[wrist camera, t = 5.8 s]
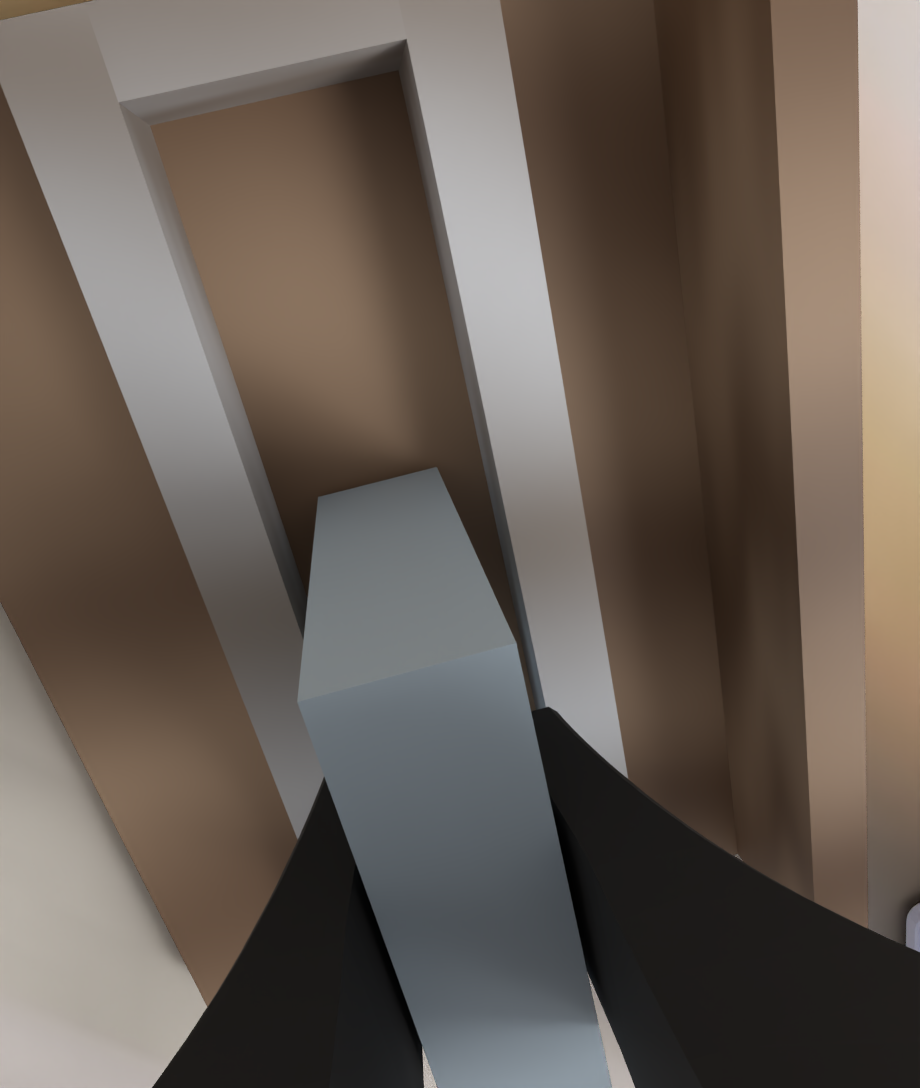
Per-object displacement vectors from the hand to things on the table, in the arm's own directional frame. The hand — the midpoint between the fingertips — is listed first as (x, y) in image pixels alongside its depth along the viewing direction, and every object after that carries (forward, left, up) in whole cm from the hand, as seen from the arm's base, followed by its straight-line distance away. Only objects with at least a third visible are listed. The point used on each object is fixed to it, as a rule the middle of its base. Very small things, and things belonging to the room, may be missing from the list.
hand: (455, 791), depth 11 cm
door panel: (0, 0, -3) cm, 3 cm away
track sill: (+2, 0, -4) cm, 5 cm away
